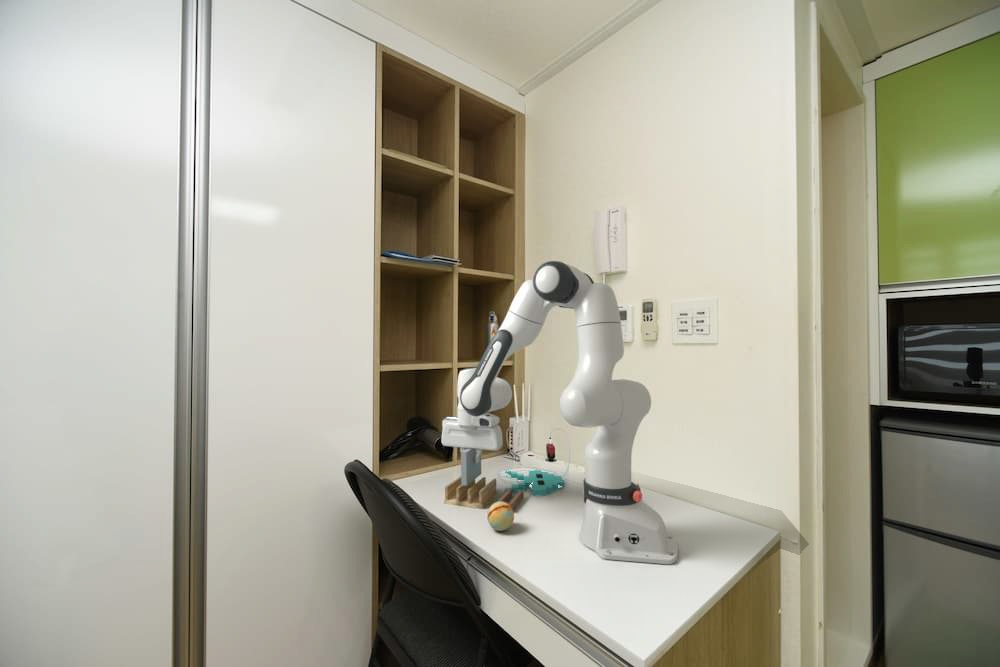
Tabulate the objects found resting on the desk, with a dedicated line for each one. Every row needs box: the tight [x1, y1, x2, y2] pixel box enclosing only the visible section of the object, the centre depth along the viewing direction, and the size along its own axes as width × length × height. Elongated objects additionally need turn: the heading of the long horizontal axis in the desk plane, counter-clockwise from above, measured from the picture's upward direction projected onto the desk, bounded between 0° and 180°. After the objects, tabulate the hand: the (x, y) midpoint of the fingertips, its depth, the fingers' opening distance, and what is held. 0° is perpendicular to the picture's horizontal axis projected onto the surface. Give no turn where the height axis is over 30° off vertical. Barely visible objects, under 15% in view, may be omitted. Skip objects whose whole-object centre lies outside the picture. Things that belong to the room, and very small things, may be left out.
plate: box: [460, 448, 482, 486], centre depth 121 cm, size 2×11×10 cm, turn 159°
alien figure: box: [504, 469, 565, 496], centre depth 133 cm, size 20×2×20 cm
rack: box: [443, 475, 499, 510], centre depth 121 cm, size 13×12×5 cm
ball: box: [486, 501, 515, 532], centre depth 100 cm, size 7×7×7 cm
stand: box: [496, 487, 525, 512], centre depth 116 cm, size 5×12×2 cm, turn 159°
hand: (471, 461), depth 121 cm, fingers closed on plate, 2 cm apart
